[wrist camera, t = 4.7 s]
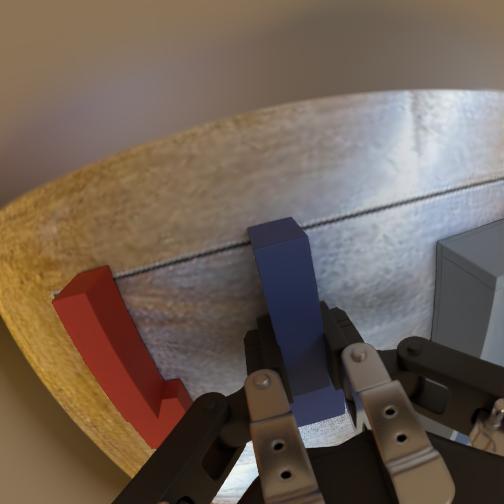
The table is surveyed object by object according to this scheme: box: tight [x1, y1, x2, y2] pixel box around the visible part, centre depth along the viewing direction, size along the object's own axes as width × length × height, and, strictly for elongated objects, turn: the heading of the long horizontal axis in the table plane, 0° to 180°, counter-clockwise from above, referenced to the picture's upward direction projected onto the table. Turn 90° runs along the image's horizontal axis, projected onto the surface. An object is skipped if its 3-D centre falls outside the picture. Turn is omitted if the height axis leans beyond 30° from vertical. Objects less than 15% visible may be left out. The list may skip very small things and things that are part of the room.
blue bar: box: [248, 217, 345, 427], centre depth 13 cm, size 11×4×3 cm, turn 14°
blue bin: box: [417, 219, 504, 446], centre depth 13 cm, size 15×10×4 cm
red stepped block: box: [52, 266, 193, 449], centre depth 13 cm, size 11×4×3 cm, turn 14°
